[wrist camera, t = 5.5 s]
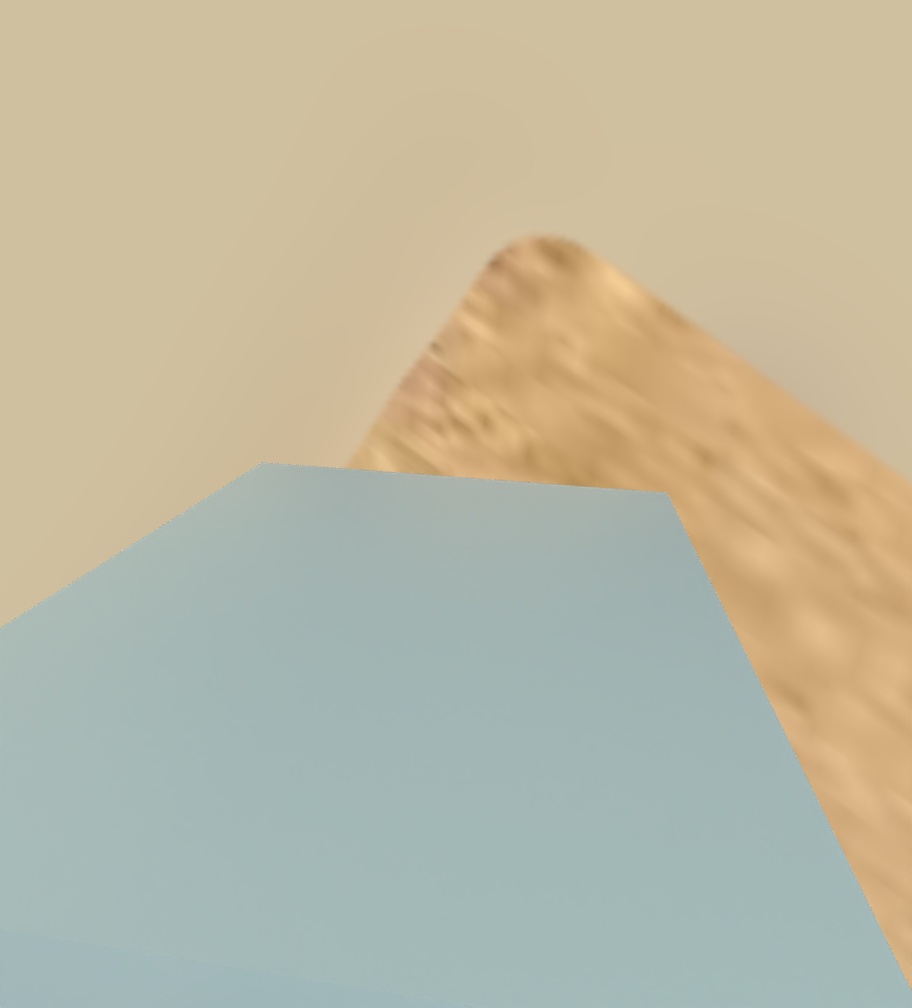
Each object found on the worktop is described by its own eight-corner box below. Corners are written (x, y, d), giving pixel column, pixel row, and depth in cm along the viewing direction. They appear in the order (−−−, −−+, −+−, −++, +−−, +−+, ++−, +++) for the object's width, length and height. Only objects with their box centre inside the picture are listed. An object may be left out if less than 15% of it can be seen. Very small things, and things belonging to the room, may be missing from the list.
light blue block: (666, 492, 11) (957, 1084, 3) (604, 958, 14) (663, 1890, 6) (261, 462, 12) (-378, 867, 4) (283, 910, 15) (-50, 1675, 7)
